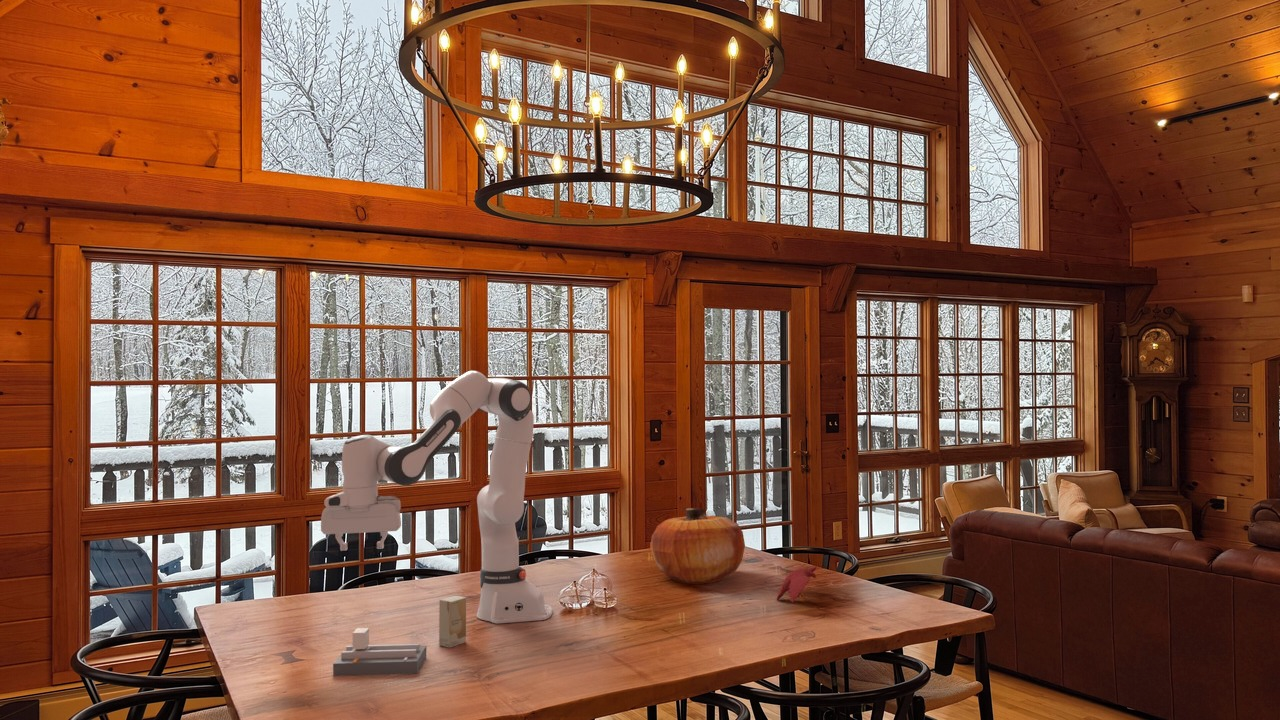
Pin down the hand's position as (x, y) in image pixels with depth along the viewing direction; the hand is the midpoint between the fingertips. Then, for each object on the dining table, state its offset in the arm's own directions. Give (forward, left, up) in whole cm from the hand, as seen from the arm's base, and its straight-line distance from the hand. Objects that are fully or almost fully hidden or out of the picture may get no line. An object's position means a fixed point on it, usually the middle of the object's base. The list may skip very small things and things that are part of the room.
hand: (362, 549), depth 228 cm
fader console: (-8, +13, -27) cm, 31 cm away
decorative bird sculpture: (-125, -38, -27) cm, 133 cm away
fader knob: (-3, +13, -23) cm, 27 cm away
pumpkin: (-98, -72, -27) cm, 124 cm away
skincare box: (-23, -4, -27) cm, 36 cm away
